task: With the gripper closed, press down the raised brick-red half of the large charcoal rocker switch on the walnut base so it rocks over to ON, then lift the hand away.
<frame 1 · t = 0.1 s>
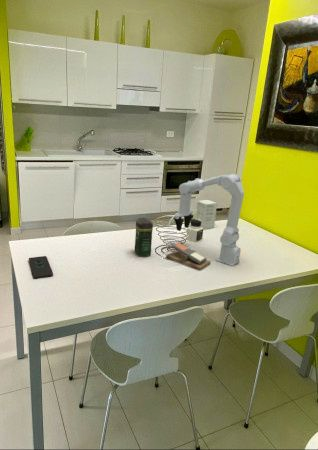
hand: (182, 228, 187), 10 cm above the table, tool pointing down, fingers open, 7 cm apart
supplement box: (204, 226, 225), on the table
switch base: (187, 261, 172), on the table
smart home device: (40, 269, 154), on the table
coffee jar: (142, 253, 177), on the table
medicine bottle: (194, 239, 202), on the table
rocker: (188, 253, 170), point 4 cm above the table, hinge at -12.0°
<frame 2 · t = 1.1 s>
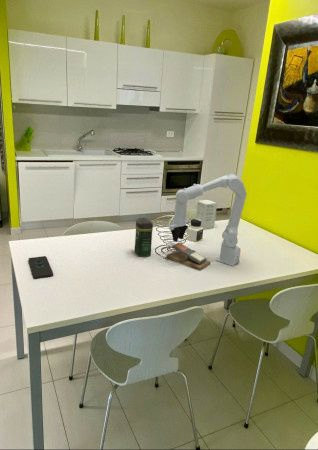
hand: (177, 240, 173), 9 cm above the table, tool pointing down, fingers open, 4 cm apart
nothing on the table moved.
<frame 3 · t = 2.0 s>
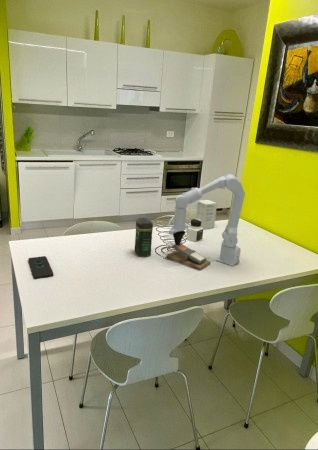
hand: (177, 244, 173), 7 cm above the table, tool pointing down, fingers closed, pressing on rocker
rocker: (188, 253, 170), point 4 cm above the table, hinge at -11.7°, touching gripper
everything else where it was.
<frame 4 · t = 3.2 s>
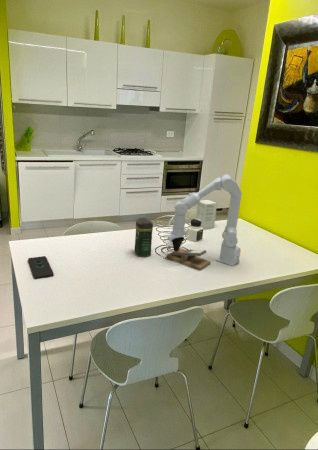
hand: (176, 250, 175), 4 cm above the table, tool pointing down, fingers closed, pressing on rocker
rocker: (188, 253, 170), point 4 cm above the table, hinge at 16.1°, touching gripper
everything else where it was.
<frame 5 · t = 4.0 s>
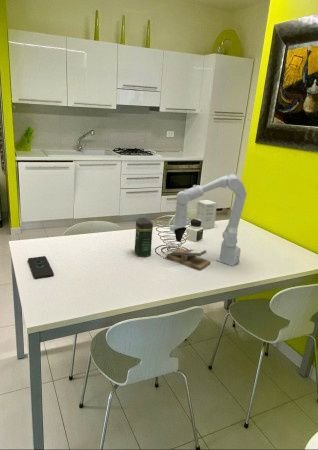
hand: (178, 241, 174), 8 cm above the table, tool pointing down, fingers closed
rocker: (188, 253, 170), point 4 cm above the table, hinge at 16.0°
everything else where it was.
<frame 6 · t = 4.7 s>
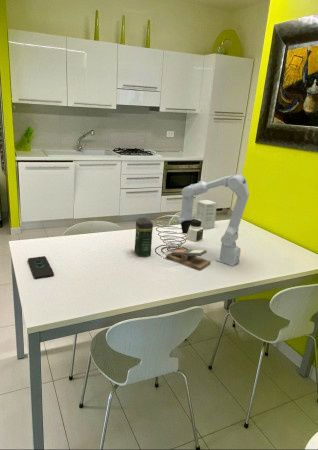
hand: (184, 233, 183), 9 cm above the table, tool pointing down, fingers closed
nothing on the table moved.
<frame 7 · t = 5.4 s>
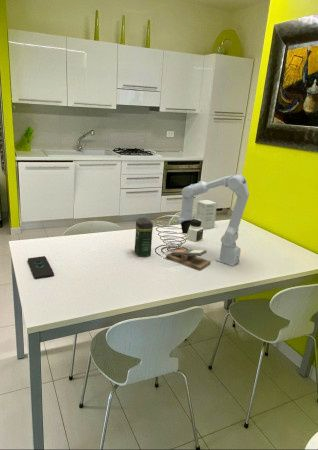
hand: (184, 233, 183), 9 cm above the table, tool pointing down, fingers closed
nothing on the table moved.
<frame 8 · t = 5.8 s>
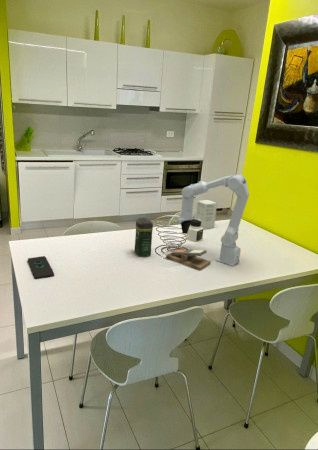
hand: (184, 233, 183), 9 cm above the table, tool pointing down, fingers closed
nothing on the table moved.
at the end: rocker at +16° (first picture: -12°); coffee jar moved 0.2 cm from its start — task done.
